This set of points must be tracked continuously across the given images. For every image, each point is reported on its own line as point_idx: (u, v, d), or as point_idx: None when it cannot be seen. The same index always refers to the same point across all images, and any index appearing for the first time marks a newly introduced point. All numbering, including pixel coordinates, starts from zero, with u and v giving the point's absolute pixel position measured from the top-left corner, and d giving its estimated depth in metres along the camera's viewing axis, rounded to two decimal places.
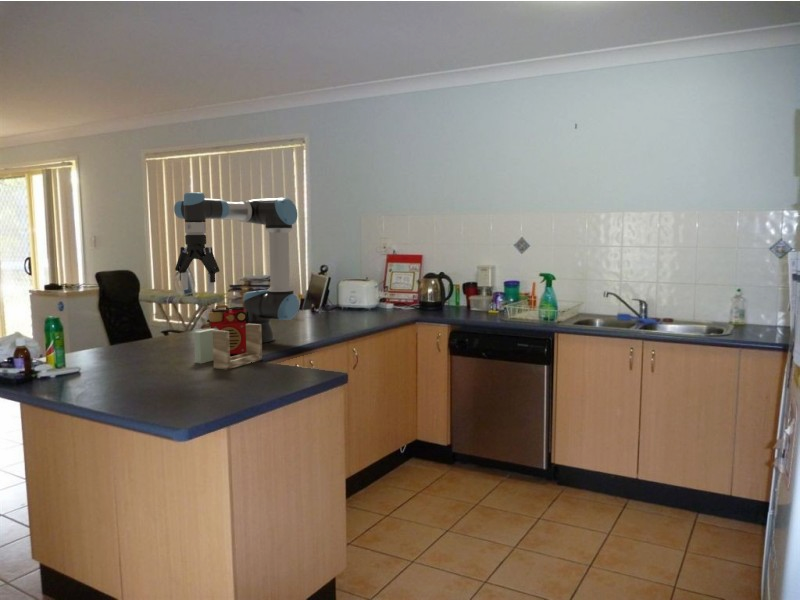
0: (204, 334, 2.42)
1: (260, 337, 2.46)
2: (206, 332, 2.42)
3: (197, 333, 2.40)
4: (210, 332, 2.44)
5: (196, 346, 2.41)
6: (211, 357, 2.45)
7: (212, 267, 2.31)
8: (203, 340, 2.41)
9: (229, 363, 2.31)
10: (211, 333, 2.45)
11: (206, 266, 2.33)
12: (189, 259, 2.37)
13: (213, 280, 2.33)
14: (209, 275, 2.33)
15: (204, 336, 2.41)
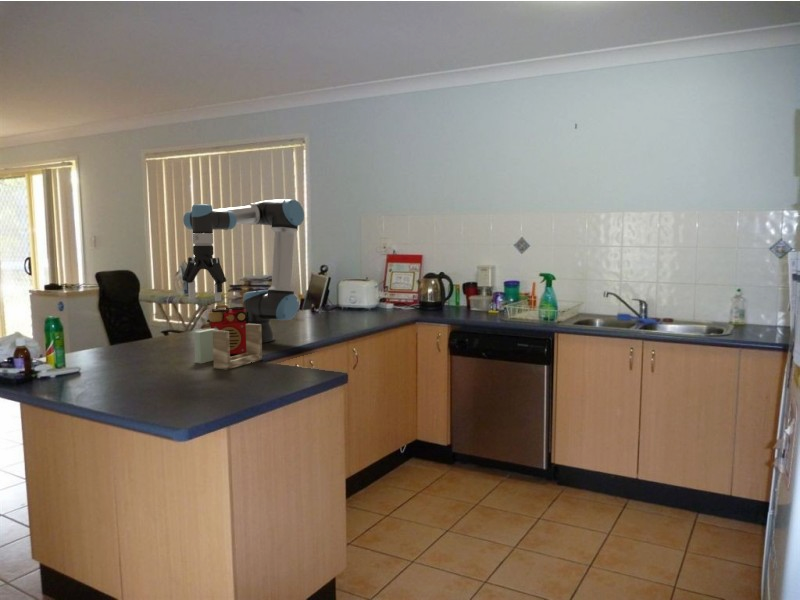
0: (204, 334, 2.42)
1: (260, 337, 2.46)
2: (206, 332, 2.42)
3: (197, 333, 2.40)
4: (210, 332, 2.44)
5: (196, 346, 2.41)
6: (211, 357, 2.45)
7: (219, 277, 2.37)
8: (203, 340, 2.41)
9: (229, 363, 2.31)
10: (211, 333, 2.45)
11: (213, 276, 2.38)
12: (196, 269, 2.43)
13: (220, 290, 2.38)
14: (216, 285, 2.38)
15: (204, 336, 2.41)
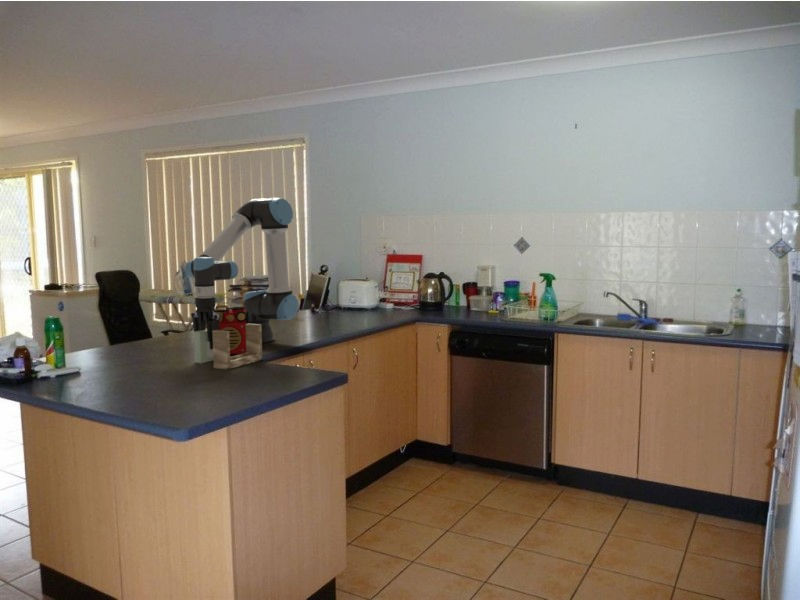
0: (204, 334, 2.42)
1: (260, 337, 2.46)
2: (206, 332, 2.42)
3: (197, 333, 2.40)
4: None
5: (196, 346, 2.41)
6: (211, 357, 2.45)
7: None
8: (203, 340, 2.41)
9: (229, 363, 2.31)
10: None
11: (208, 332, 2.42)
12: (202, 322, 2.44)
13: None
14: (209, 342, 2.43)
15: (204, 336, 2.41)
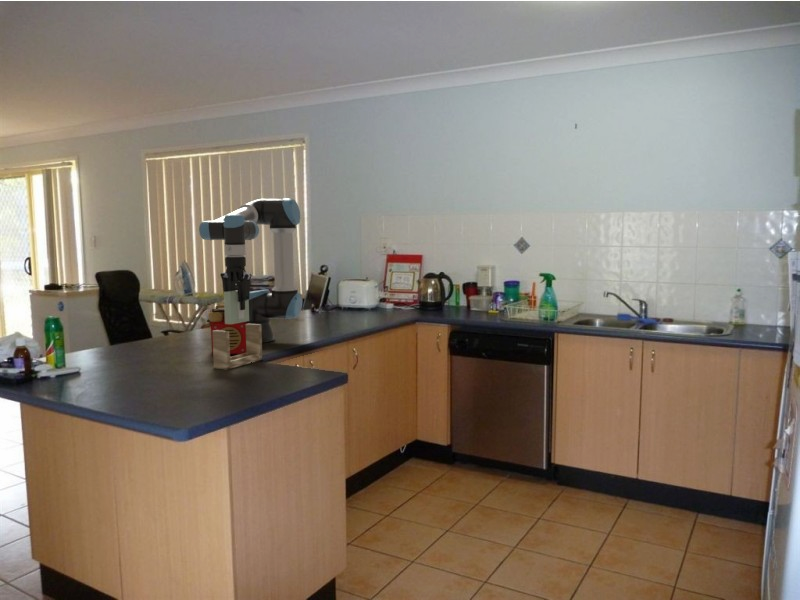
0: (234, 294, 2.34)
1: (260, 337, 2.46)
2: (236, 292, 2.35)
3: (227, 293, 2.32)
4: None
5: (226, 306, 2.33)
6: (241, 319, 2.38)
7: (244, 295, 2.33)
8: (233, 300, 2.33)
9: (229, 363, 2.31)
10: None
11: (239, 292, 2.34)
12: (232, 282, 2.36)
13: (243, 308, 2.36)
14: (239, 303, 2.35)
15: (234, 297, 2.34)
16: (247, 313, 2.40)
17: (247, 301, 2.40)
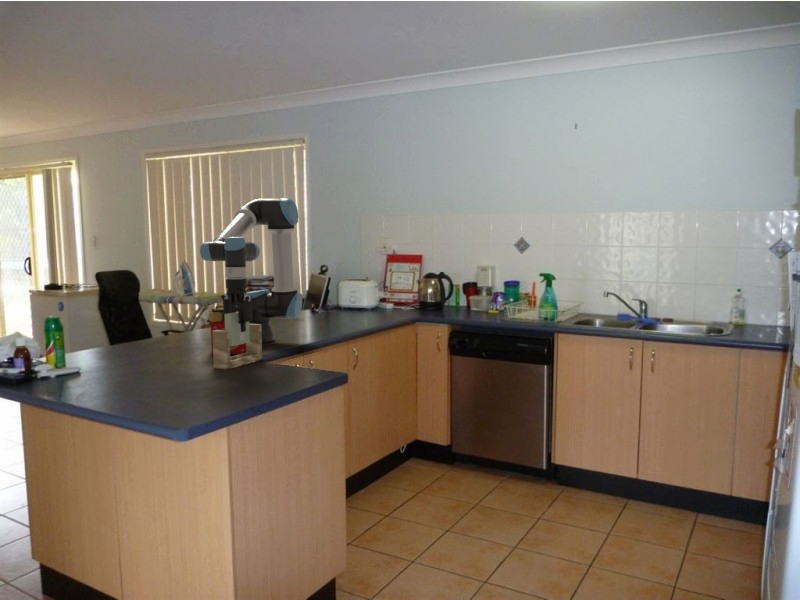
0: (235, 316, 2.35)
1: (260, 337, 2.46)
2: (237, 314, 2.35)
3: (228, 315, 2.33)
4: None
5: (227, 328, 2.34)
6: None
7: (244, 317, 2.34)
8: (234, 322, 2.34)
9: (229, 363, 2.31)
10: None
11: (239, 314, 2.35)
12: (233, 304, 2.37)
13: (244, 329, 2.36)
14: (240, 325, 2.36)
15: (235, 319, 2.34)
16: (248, 334, 2.41)
17: (248, 322, 2.41)
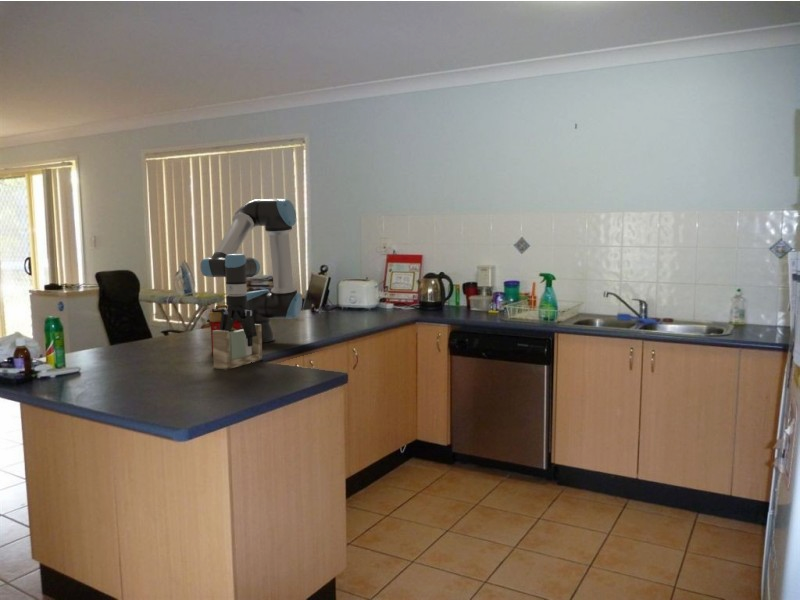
0: (236, 334, 2.36)
1: (260, 337, 2.46)
2: (237, 333, 2.36)
3: (229, 334, 2.34)
4: (241, 333, 2.38)
5: None
6: None
7: (250, 331, 2.34)
8: (235, 341, 2.35)
9: (229, 363, 2.31)
10: (242, 334, 2.39)
11: (245, 329, 2.35)
12: (231, 320, 2.38)
13: (250, 344, 2.36)
14: (247, 339, 2.35)
15: (235, 337, 2.35)
16: None
17: None
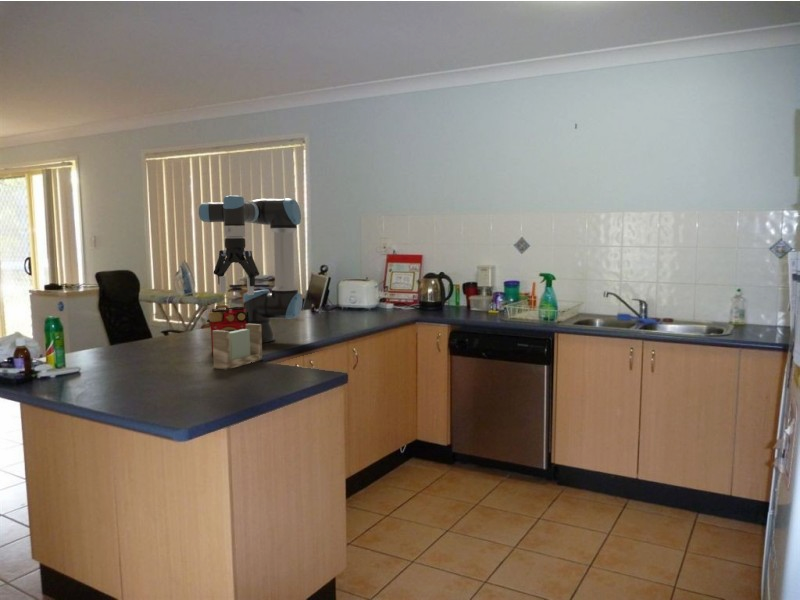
0: (236, 334, 2.36)
1: (260, 337, 2.46)
2: (237, 333, 2.36)
3: (229, 334, 2.34)
4: (241, 333, 2.38)
5: None
6: None
7: (252, 271, 2.31)
8: (235, 341, 2.35)
9: (229, 363, 2.31)
10: (242, 334, 2.39)
11: (246, 270, 2.32)
12: (228, 263, 2.36)
13: (253, 284, 2.32)
14: (249, 279, 2.32)
15: (235, 337, 2.35)
16: (248, 352, 2.42)
17: (248, 341, 2.42)
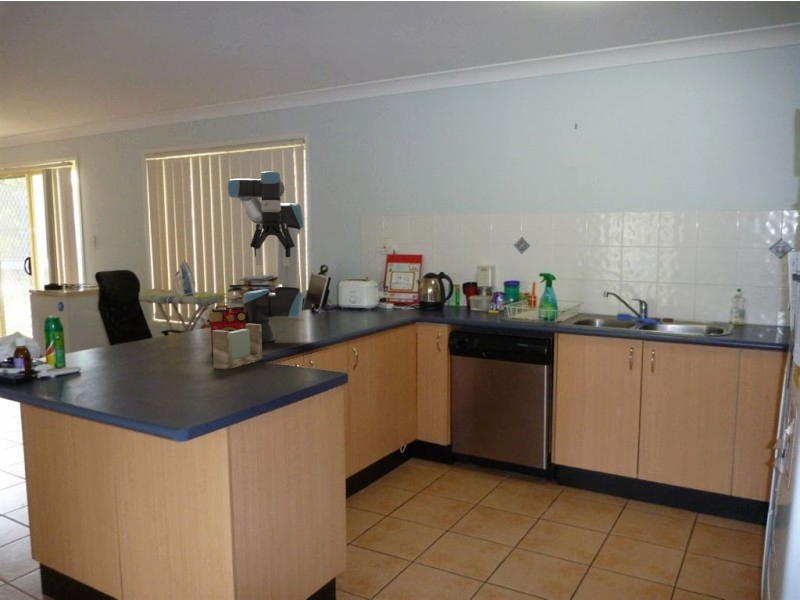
0: (236, 334, 2.36)
1: (260, 337, 2.46)
2: (237, 333, 2.36)
3: (229, 334, 2.34)
4: (241, 333, 2.38)
5: None
6: None
7: (288, 242, 2.44)
8: (235, 341, 2.35)
9: (229, 363, 2.31)
10: (242, 334, 2.39)
11: (282, 242, 2.45)
12: (264, 235, 2.50)
13: (288, 255, 2.46)
14: (285, 250, 2.45)
15: (235, 337, 2.35)
16: (248, 352, 2.42)
17: (248, 341, 2.42)
